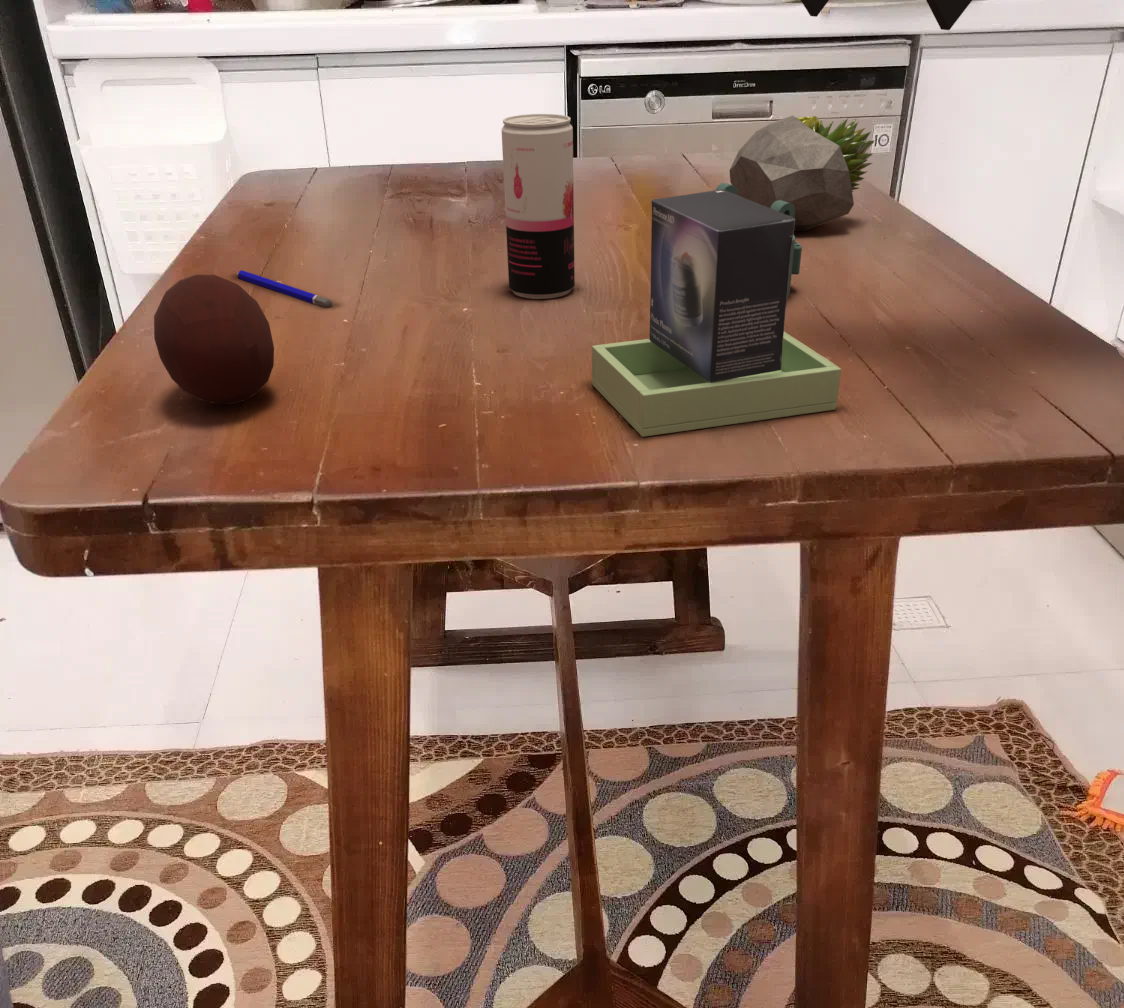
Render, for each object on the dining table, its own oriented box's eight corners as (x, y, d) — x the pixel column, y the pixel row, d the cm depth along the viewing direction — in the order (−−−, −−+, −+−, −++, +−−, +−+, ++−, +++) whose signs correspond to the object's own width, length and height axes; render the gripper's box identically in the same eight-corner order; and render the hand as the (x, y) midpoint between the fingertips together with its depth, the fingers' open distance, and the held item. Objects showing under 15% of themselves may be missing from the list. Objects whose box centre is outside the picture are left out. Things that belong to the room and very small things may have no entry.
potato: (176, 433, 82) (144, 304, 76) (166, 381, 91) (136, 262, 85) (292, 416, 84) (270, 289, 78) (271, 367, 93) (250, 250, 87)
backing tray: (836, 409, 83) (841, 368, 81) (642, 437, 79) (643, 394, 77) (769, 361, 91) (772, 323, 90) (591, 384, 88) (591, 345, 86)
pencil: (334, 308, 107) (332, 298, 106) (326, 310, 107) (324, 300, 106) (241, 277, 117) (239, 267, 116) (234, 279, 116) (232, 269, 116)
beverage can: (588, 291, 109) (587, 118, 100) (536, 304, 106) (530, 127, 97) (547, 278, 113) (543, 111, 104) (496, 290, 110) (486, 119, 101)
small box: (642, 342, 86) (646, 196, 80) (715, 331, 88) (725, 187, 82) (705, 384, 79) (715, 226, 72) (784, 371, 81) (800, 215, 74)
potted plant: (719, 185, 131) (830, 137, 132) (766, 274, 130) (879, 225, 131) (734, 112, 120) (857, 60, 120) (787, 209, 118) (911, 156, 119)
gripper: (1278, -255, 64) (1025, 67, 68) (969, -217, 81) (783, 36, 85) (1250, -391, 59) (978, -35, 63) (927, -320, 76) (731, -45, 80)
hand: (865, 7), depth 74 cm, fingers open, 13 cm apart
